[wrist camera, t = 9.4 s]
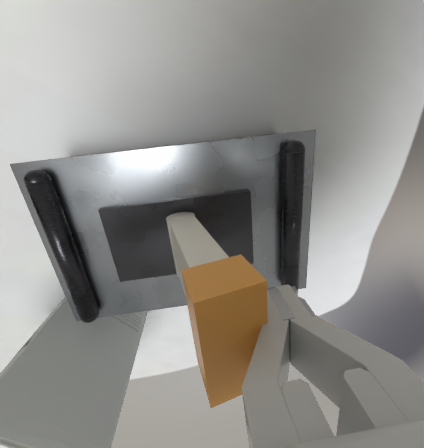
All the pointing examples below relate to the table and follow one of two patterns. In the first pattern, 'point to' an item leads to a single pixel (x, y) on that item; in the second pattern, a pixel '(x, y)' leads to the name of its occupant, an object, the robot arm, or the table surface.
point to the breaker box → (163, 207)
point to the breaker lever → (218, 305)
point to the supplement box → (69, 381)
